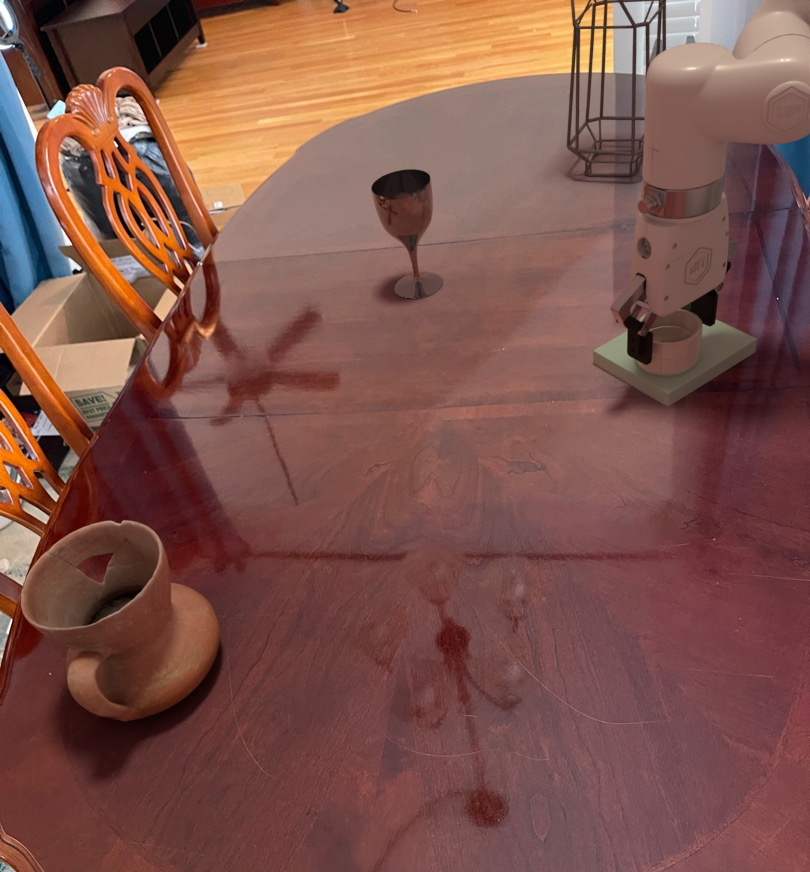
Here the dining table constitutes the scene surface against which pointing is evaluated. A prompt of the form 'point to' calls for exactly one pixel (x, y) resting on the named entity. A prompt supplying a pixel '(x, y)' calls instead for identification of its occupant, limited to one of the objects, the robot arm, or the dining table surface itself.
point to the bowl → (674, 343)
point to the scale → (716, 356)
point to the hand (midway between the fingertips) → (671, 340)
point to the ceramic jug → (122, 621)
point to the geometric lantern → (576, 44)
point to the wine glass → (407, 223)
